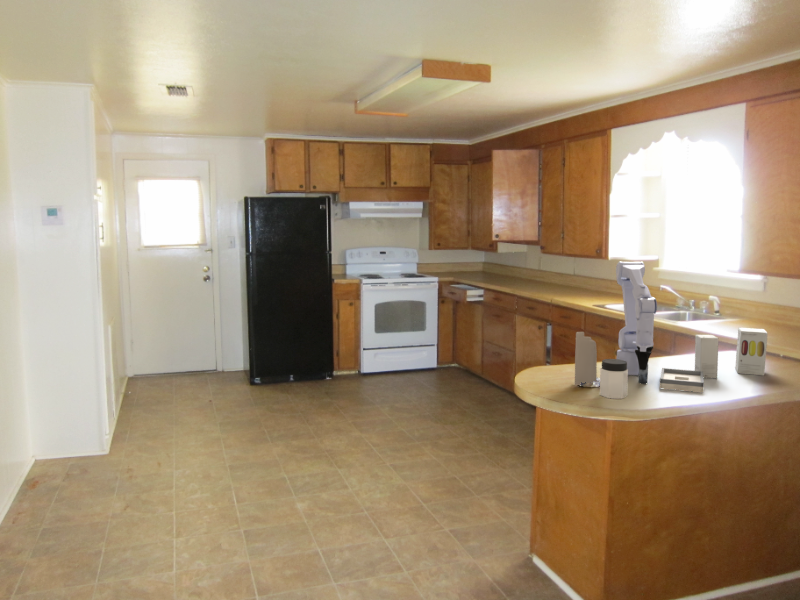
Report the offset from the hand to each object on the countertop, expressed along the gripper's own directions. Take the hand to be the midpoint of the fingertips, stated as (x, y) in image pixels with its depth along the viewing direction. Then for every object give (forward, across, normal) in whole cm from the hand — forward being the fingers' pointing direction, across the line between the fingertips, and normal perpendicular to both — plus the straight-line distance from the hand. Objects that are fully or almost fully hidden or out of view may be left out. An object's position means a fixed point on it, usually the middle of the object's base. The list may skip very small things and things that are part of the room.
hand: (643, 367), depth 232 cm
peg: (+6, 0, 0) cm, 6 cm away
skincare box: (+6, -20, +21) cm, 30 cm away
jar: (+6, +22, -8) cm, 24 cm away
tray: (+6, -3, +13) cm, 15 cm away
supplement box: (+6, -34, +37) cm, 51 cm away
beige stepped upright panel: (+6, +10, -16) cm, 20 cm away
